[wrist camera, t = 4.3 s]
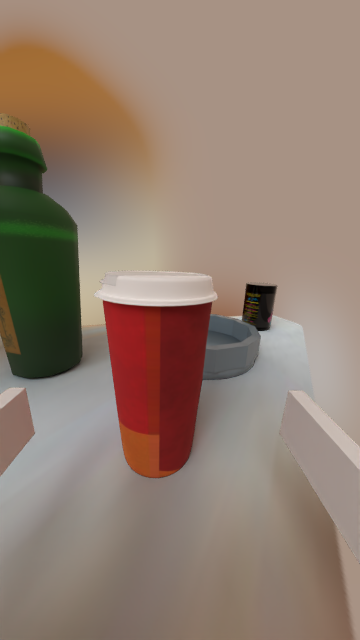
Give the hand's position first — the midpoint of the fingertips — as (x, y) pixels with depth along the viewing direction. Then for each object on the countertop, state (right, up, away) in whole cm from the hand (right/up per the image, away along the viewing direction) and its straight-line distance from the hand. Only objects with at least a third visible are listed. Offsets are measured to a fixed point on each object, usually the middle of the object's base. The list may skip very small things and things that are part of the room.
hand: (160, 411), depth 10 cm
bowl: (+5, -1, +25) cm, 25 cm away
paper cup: (-1, -6, +7) cm, 9 cm away
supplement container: (+20, +3, +39) cm, 44 cm away
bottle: (-18, -2, +19) cm, 26 cm away
